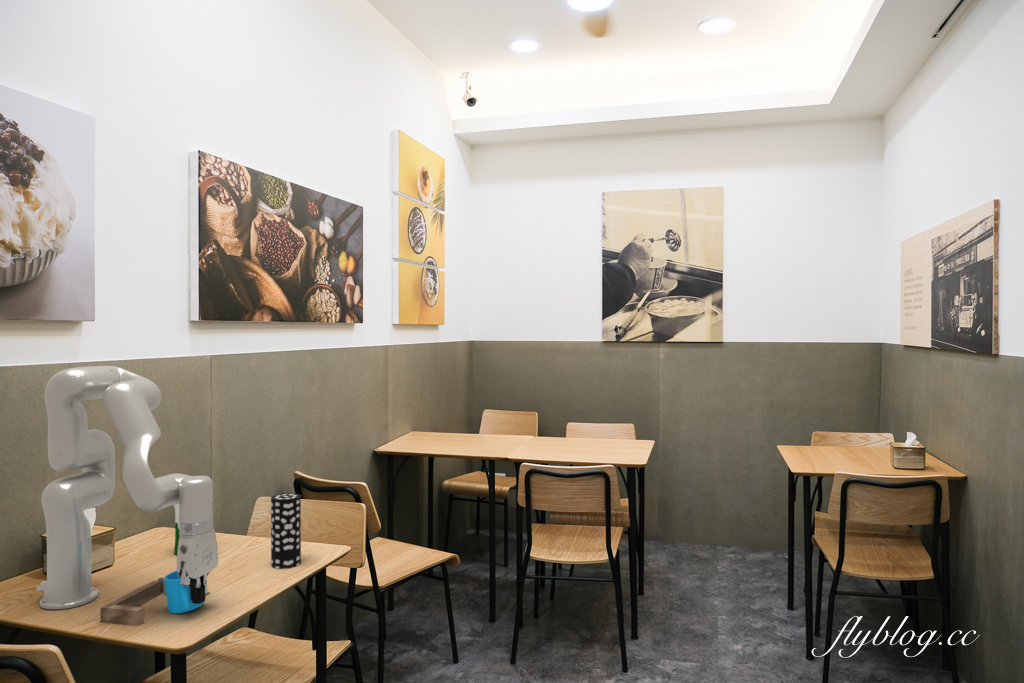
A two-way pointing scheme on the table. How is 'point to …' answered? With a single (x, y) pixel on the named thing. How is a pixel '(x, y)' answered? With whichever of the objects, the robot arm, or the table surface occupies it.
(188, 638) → the table surface
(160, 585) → the dock
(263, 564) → the table surface
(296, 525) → the white-spotted black cylinder
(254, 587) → the table surface
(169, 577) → the mug
